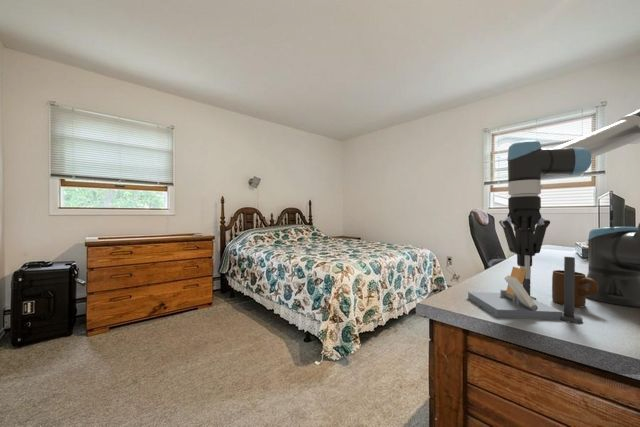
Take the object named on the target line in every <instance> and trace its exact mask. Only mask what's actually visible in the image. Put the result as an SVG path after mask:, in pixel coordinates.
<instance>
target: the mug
mask: <svg viewBox="0 0 640 427" xmlns="http://www.w3.org/2000/svg"><path fill="white" fill-rule="evenodd" d="M586 277H587V275H586V274H585V273H582V272H578V271H575V298H574V308H583V307H584V306H586V301H587V300H586V299H587V297H586V295H587V296H592V295H595V294H596V293H597V292H598V289H599V286H598V283H597V282H596V281H595V280H593V279H591V278H586ZM587 283H589V284H590V285H591V287H590V289H589V290H587V289H586V284H587ZM551 287H552V288H551V293H552V294H551V298H552V301H553V302H554V303H556V304H558V305H559V304H560V305H562V306H564V269H563V270H560V269H559V270H558V269H557V270H555V269H554V270H553V271H552V276H551Z"/></svg>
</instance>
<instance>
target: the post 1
mask: <svg viewBox="0 0 640 427" xmlns="http://www.w3.org/2000/svg"><path fill="white" fill-rule="evenodd" d="M531 267H532V266H530V276H531ZM522 286H523V288H524V289H525V290H526V292H527V293H528V295H529V296H530V297H531V298H532V299H534V300H536V301H537V298H536V297H534V296H531V278H530V279H526V278H524V280H523V284H522Z"/></svg>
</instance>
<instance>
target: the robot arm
mask: <svg viewBox="0 0 640 427" xmlns="http://www.w3.org/2000/svg"><path fill="white" fill-rule="evenodd" d="M637 144H640V109H637V110H636V111H634V112H632V113H629V114H627V115H624V116H622V117H620V119H618V120H617V122H615V123H612V124H610V125H608V126H605V127H603V128H600V129H598V130H595V131H593V132H591V133H588V134H585V135H583V136H581V137H577V138H575V139H572V140H571V141H568V142H565V143H563V144H560V145H558V146H555V147H553V148H542V146H541V142H540V141H538V140H524V141H523V140H522V141H519V142H518V141H517V142H515V143H513V144H511V145H509V147H508V150H507V175H508V176H507V181H508V182H507V185H508V186H507V189H508V193H507V194H508V195H509V196H510V197H509V198H508V202H507V204H508V205H507V206H508V207H507V208H508V211H509V212H508V214H507V217H505V219H502V220H499V222H498V223H499V225H500V226H501V228H502V229H503V234H504V236H505V240H506V243H507V246H508V250H509V252H510V253H513V254H515V255H516V262H517V263H516V264H517V266H519V268H520V269H523V270H526V273H525V276H524V278H526V279H530V280H531V275H530V266H531V267H532V266H533V257H534V256H536V254H540V252H541V249H542V245H543V242H544V238H545V234H546V231H547V228H548V227H549V225H550V224H551V220H548V219H545V218H543V217H542V214H541V211H540V210H541V209H542V197H540V196H539V195H541V193H542V184H541V183H542V182H541V179H547V178H553V177H559V176H566V175H567V176H572V175H580V174H581V175H582V174H583V173H585V172H587V171H588V169H589V168H590V167H591V164H592V158H596V157H597V156H601V155H603V154H606V153H608V152H612V151H613V150H616V149H619V148H621V147H623V146H624V147H625V146H626V145H637ZM587 242H588V244H587V249H588V250H587V252H588V253H587V255H588V256H587V258H588V259H587V260H588V266H587V267H588V270H587V271H588V272H587V275H586V278H591V279H593V280H595V281H596V282H597V283H598V286H599V289H598V292H597V293H596V294H595V295H592V296H587V295H586V299H591V300H595V301H598V302H603V303H607V304H613V305H618V306H628V307H635V308H636V307H637V308H638V307H640V222H639V223H638V226H609V227H607V226H606V227H596V228H593V229H591V230H590V231H589V233H588V239H587ZM590 287H591V285H590V284H589V283H587V284H586V289H587V290H589V289H590Z"/></svg>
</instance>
